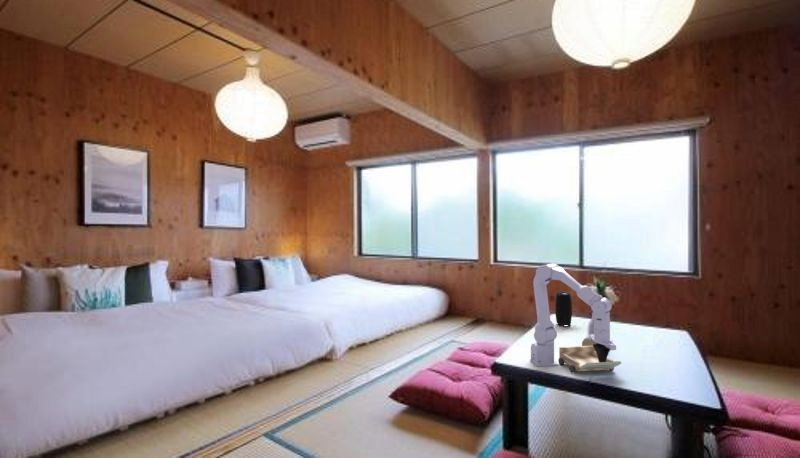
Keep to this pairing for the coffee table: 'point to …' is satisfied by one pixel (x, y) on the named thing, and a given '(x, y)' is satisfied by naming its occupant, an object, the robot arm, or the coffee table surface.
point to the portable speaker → (563, 308)
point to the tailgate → (600, 365)
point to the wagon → (579, 357)
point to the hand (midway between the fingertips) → (602, 362)
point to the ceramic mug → (588, 342)
